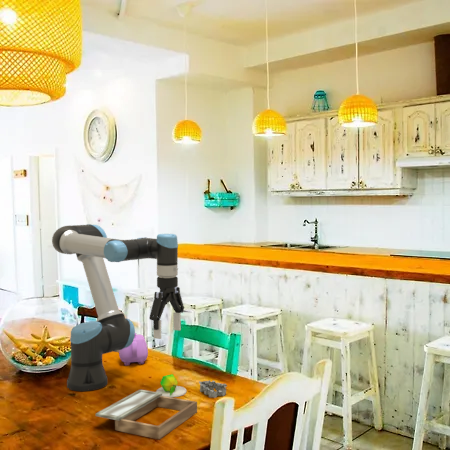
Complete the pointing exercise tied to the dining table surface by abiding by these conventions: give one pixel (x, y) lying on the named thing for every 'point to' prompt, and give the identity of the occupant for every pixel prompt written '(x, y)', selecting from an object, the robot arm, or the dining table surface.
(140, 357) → the piggy bank
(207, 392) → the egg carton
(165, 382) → the green faceted lump
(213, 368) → the dining table surface
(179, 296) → the robot arm
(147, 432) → the cold frame
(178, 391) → the saucer
